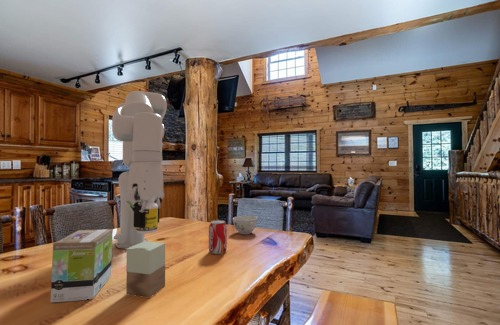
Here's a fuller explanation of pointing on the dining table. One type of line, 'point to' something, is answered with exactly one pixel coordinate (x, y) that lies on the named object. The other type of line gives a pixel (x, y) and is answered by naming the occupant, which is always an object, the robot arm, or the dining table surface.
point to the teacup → (245, 224)
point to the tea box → (81, 265)
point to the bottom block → (145, 283)
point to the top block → (145, 257)
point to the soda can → (217, 237)
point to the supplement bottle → (150, 217)
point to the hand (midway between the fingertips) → (146, 224)
